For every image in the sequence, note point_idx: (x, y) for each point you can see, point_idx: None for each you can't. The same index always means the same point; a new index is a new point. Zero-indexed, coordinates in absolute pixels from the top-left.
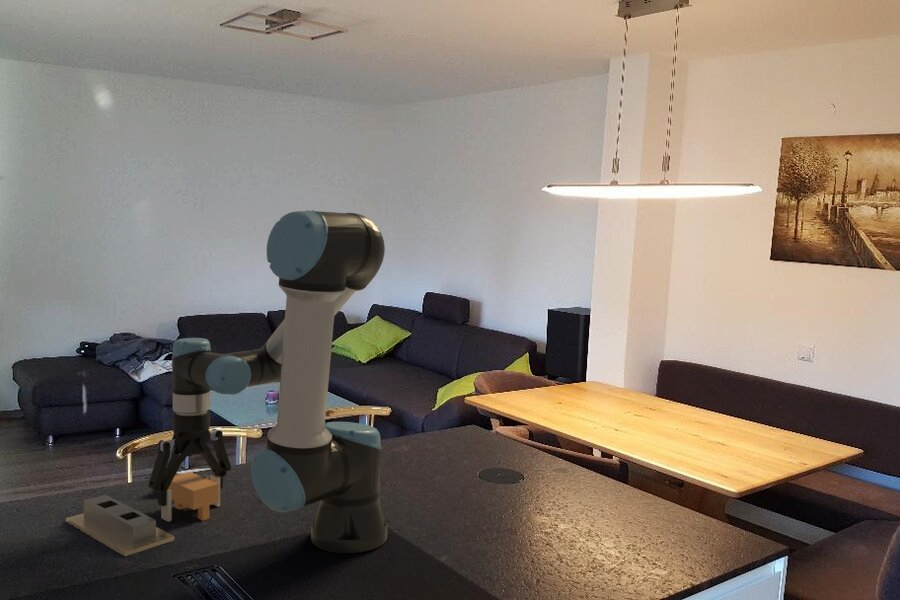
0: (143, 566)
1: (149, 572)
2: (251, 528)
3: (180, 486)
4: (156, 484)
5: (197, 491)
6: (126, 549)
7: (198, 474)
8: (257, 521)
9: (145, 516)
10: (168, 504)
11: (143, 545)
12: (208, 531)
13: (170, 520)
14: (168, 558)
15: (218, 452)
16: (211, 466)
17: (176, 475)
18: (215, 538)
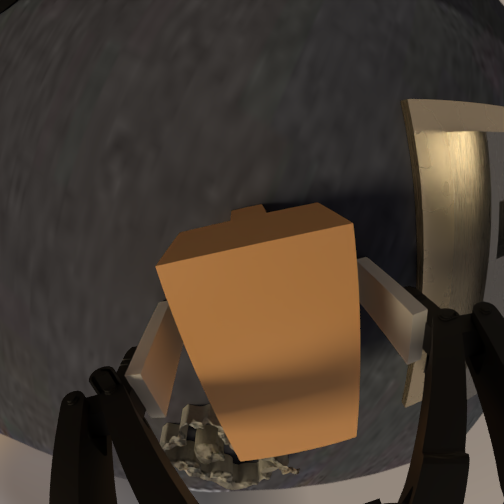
0: (474, 33)
1: (465, 4)
2: (140, 44)
3: (357, 348)
4: (498, 315)
5: (321, 226)
6: (500, 118)
7: (179, 469)
8: (95, 94)
9: (495, 190)
10: (395, 282)
11: (476, 107)
12: (282, 92)
13: (359, 260)
14: (431, 18)
15: (97, 495)
16: (154, 440)
17: (229, 482)
18: (283, 27)
